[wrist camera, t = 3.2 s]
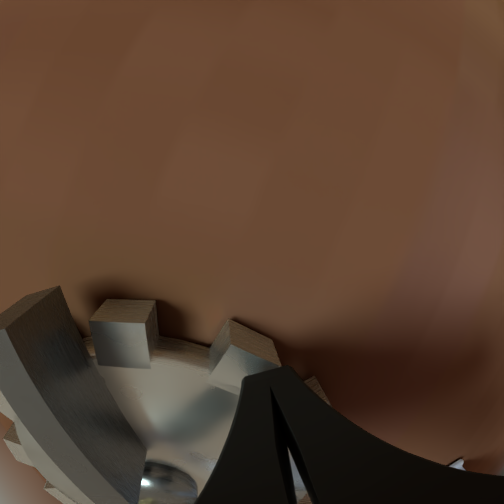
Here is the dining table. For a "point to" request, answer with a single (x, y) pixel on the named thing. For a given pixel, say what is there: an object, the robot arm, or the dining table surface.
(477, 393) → the dining table surface
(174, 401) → the sprocket
